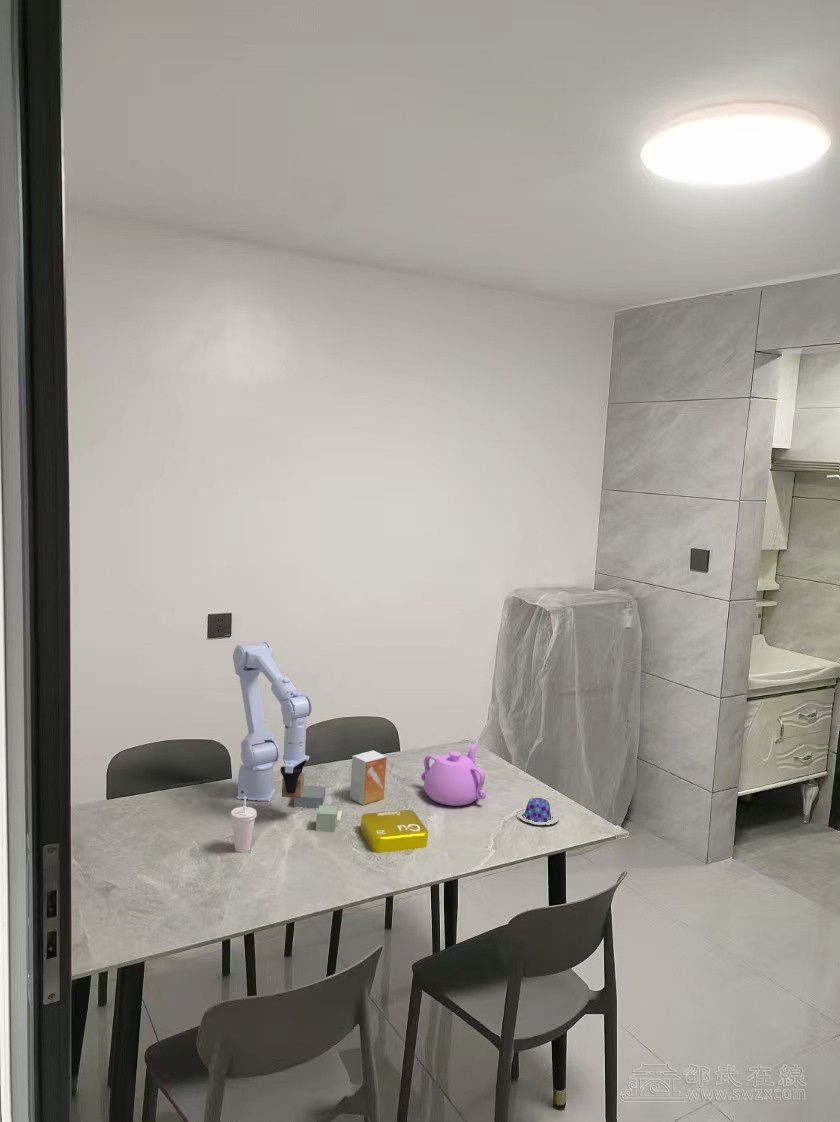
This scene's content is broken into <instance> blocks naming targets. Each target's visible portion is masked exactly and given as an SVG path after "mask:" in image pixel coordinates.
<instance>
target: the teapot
mask: <svg viewBox="0 0 840 1122" xmlns="http://www.w3.org/2000/svg"><path fill="white" fill-rule="evenodd" d="M478 745H479V743H478V742H474V743H472V745H471V746H470V748H469V750H468V753H467V756H466V755H462V753H461V752H460V751H457V750H456V751H449V753H445V754H441V755H439V756H438V755H436V754H434V753H433V754H432V753H431V754H429V755H427V756H426V757H425V758H424V761H423V766H424V772H423V773H422V774H421V775H420V778H421V780H422V782H423V789H424V791H425V793H426V794H427V795H428V797H429V798H430V799H431V800H432V801H434V802H436V803H438V804H441V805H445V806H452V807H453V806H454V807H455V806H459V807H461V806H466V805H470V804H472V803H473V802H475V801H476V800H477V799H479V800H483V799H485V798H486V796H487V791H486V790H484V789H483V786H484V784H485V779H486V774H485V771H484V770H483V768H481V767H479V766H477V764H476V763H477V762H476V751H477V748H478ZM430 759H432V760H434V762H433V763H432V765H430Z"/></svg>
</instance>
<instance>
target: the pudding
mask: <svg viewBox="0 0 840 1122" xmlns="http://www.w3.org/2000/svg"><path fill="white" fill-rule="evenodd" d="M525 808H526V810H525V812H524V816H525V817H526V819H528V820H532V821H534V822H547V821H548V820H551V818H552V817H551V806H550V802H549V801H548V800H546V799H545V798H543V797H533V798H530V799H529V800H527V805H526V807H525ZM521 809H522V808H521ZM521 809H519V810H521ZM516 817H517V819H519V817H518V816H517V815H516ZM526 819H525V820H526Z"/></svg>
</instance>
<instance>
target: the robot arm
mask: <svg viewBox="0 0 840 1122" xmlns="http://www.w3.org/2000/svg"><path fill="white" fill-rule="evenodd" d="M232 660H233V666H234V672H235V675H236V676H238V677H239V683H240V688H241V694H242V695H241V696H242V700H243V706H244V713H245V719H246V725H247V726H246V727H247V731H248V733H247V735H246V736H245V738H243V739H242V741H241V742H240V747H241V753H240V758H241V762H242V764H240V766H239V770H238V777H237V779H238V781H237V797H236V799H237V798H238V799H237V800H241V799H244V796H246V799H248V800H247V801H255V800H257V802H258V801H259V802H271V800H272V798H273V796H274V794H275V792H276V788H273V770H274V768H273V767H275V766H276V763H277V762H278V761H279V759H280V756H281V755H280V754H281V751H280V746H279V744H278V742H277V740H276V735H275V734H273V733H272V732H270V731H268V730H267V725H266V718H265V713H264V707H263V701H262V695H261V690H260V683H259V676H260V674H261V673H262V674H263V676H264V677H266V679H267V680H268V681H269V682H270V684H271V687H270V690H271V693H272V694H273V695H274V697H275V698H276V699H277V701H278V702H279V704H280V711H281V715H282V723H283V725H284V737H283V739H284V740H283V755H282V760H283V764H284V766H281V767H280V770H279V771H280V774H281V776H282V779H283V778H284V781H285V786H286V791H287V793H295V790H296V786H297V781H298V777H299V775H300V773H303V769H304V766H305V764H306V762H307V761H309V760H310V755H306V740H307V739H306V737H307V734H306V733H307V719H308V718H307V717H309V716H310V715H311V713H312V701H311V700H310V698H309V696H308V695H306V694H303V693H302V692H299V690H298V689H297V688H296V687H295V685H294V684H293V681H291V680H290V678H289V677H288V676H283V675H282V673H281V671H280V669H279V668H278V666H277V664H276V662H275V660H274V650H273V648H272V646H271V645H270V643H269V642H267V641H264V642H263V641H262V642H258V643H249V644H243V645H242V644H239V645H236V646H235V649H234V651H233V654H232Z"/></svg>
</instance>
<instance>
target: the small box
mask: <svg viewBox="0 0 840 1122" xmlns="http://www.w3.org/2000/svg"><path fill="white" fill-rule="evenodd" d="M387 758H388V757H387V756H386V755H384V754H382V753H381V752H378V751H376V750H374V749H373V750H369V751H366V752H361V753H359V754H353V755H352V757H351V774H350V777H351V778H350V792H349V798H350V799H351V800H353V801H355V802H356V803H358V804H360V805H362V806H365V805H368V804H370V803H374V802H377V801H381V800H384V799H385V786H386V785H385V784H386V773H387V772H386V770H387Z"/></svg>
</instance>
